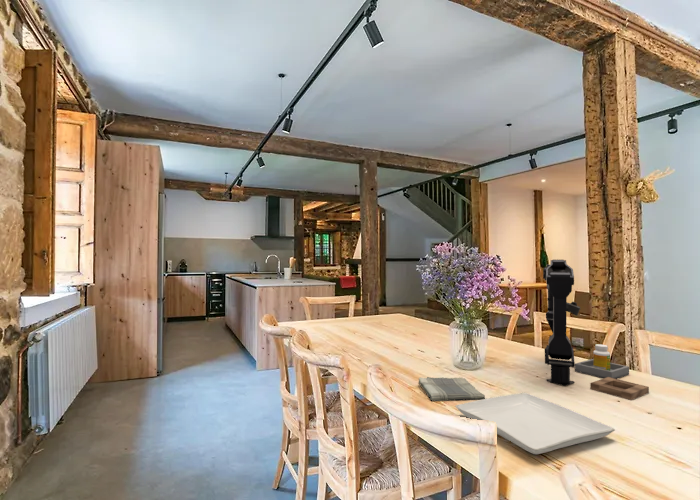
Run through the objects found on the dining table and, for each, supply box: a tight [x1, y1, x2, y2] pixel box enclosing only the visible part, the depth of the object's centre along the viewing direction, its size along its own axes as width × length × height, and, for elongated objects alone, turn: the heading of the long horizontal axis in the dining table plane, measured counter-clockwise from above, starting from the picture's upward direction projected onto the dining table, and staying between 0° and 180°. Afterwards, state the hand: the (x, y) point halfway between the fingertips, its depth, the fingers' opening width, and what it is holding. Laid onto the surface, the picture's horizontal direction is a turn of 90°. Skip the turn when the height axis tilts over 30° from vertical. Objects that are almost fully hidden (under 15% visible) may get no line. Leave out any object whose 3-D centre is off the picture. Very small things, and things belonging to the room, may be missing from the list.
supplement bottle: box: [592, 343, 611, 371], centre depth 146 cm, size 5×5×10 cm
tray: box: [574, 358, 630, 379], centre depth 146 cm, size 13×13×3 cm
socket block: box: [589, 377, 650, 401], centre depth 127 cm, size 12×12×2 cm
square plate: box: [454, 392, 616, 455], centre depth 100 cm, size 27×27×4 cm
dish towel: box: [418, 376, 486, 402], centre depth 128 cm, size 19×18×3 cm
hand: (556, 334), depth 155 cm, fingers open, 9 cm apart
